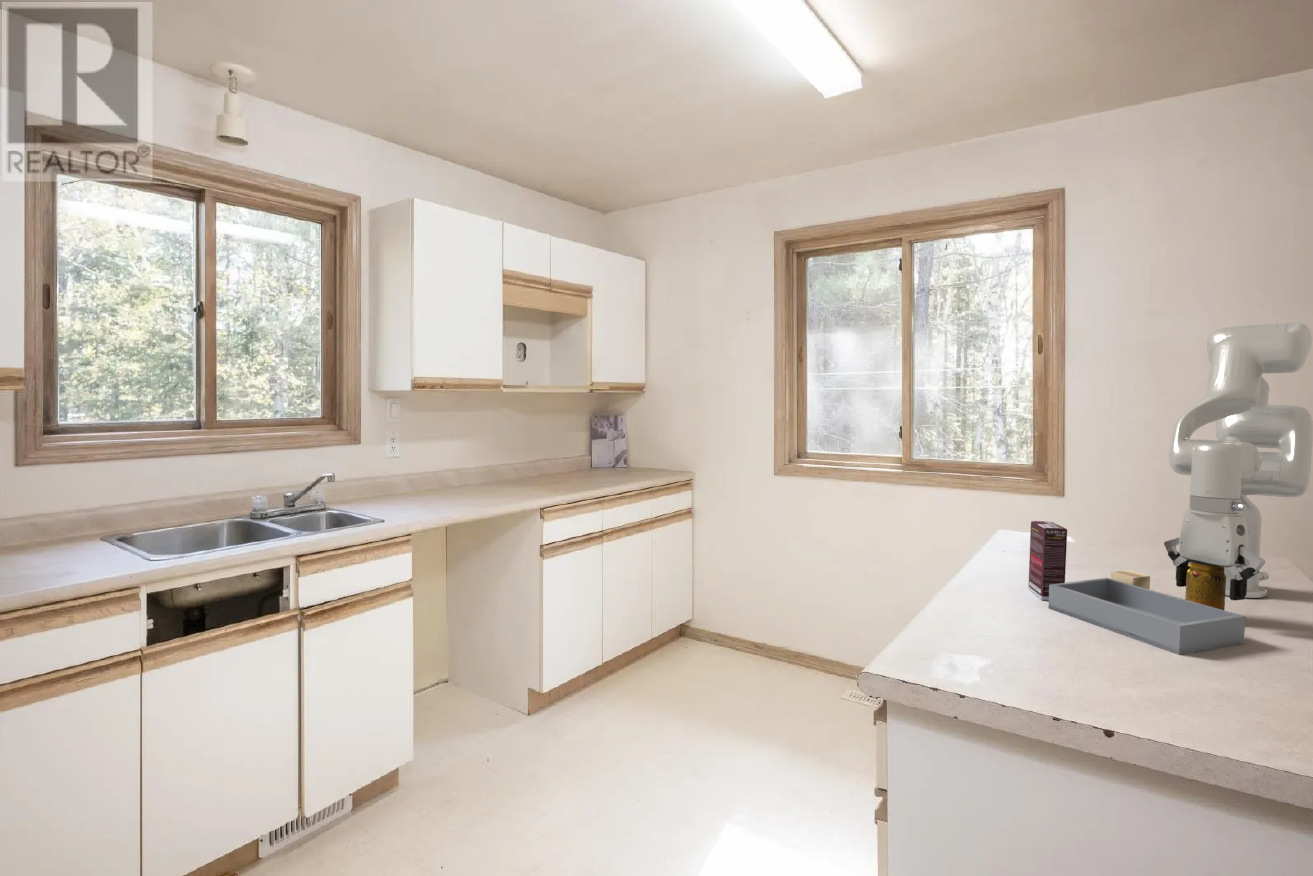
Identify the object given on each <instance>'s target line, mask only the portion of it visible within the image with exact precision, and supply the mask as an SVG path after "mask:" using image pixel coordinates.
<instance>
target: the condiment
mask: <svg viewBox="0 0 1313 876" xmlns="http://www.w3.org/2000/svg"><path fill="white" fill-rule="evenodd" d="M1188 566H1190V569H1189V570H1188V571H1187V577H1186V586H1185V595H1184V596H1185V600H1189V601H1192V602H1196V603H1199V604H1203V605H1207V606H1210V607H1214V608H1217V609H1221V610H1225V607H1226V602H1225V601H1226V595H1225V590H1226V575H1225V574H1224V570H1225V569H1224V567H1221V566H1216V565H1211V564H1207V563H1204V562H1201V561H1197V560H1190V564H1189V565H1188ZM1225 611H1226V610H1225Z"/></svg>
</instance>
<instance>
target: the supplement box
mask: <svg viewBox="0 0 1313 876" xmlns="http://www.w3.org/2000/svg"><path fill="white" fill-rule="evenodd" d="M1029 537H1030V539H1029V540H1030V542H1029V563H1028V564H1029V566H1028V567H1029V568H1028V569H1029V570H1028V590H1029V591H1030V592H1031V593H1032V594H1034V595H1035V596H1036V597H1037V598H1039V599H1040V600H1042V601H1048V602H1049V585H1050V584H1059V583H1066V568H1067V567H1066V566H1067V545H1068V529H1067V528H1066V527H1064V526H1061V525H1059V524H1058V523H1055V522H1054V521H1043V520H1042V521H1041V520H1039V521H1038V520H1033V521H1030V536H1029Z"/></svg>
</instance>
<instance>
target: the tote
mask: <svg viewBox="0 0 1313 876" xmlns="http://www.w3.org/2000/svg"><path fill="white" fill-rule="evenodd" d="M1048 609H1050V610H1052V611H1055V612H1058V613H1061V614H1064V615H1067V616H1070V617H1073V618H1075V619H1077V618H1078V620H1081V621H1082V622H1083V621H1084V622H1086V623H1089V624H1091V625H1094V626H1097V627H1100V628H1103V627H1104V628H1103V629H1106V628H1107V629H1106V630H1108V629H1109V631H1111V632H1114V633H1117V632H1118V633H1117V634H1120V635H1123V636H1125V637H1128V636H1129V638H1131V639H1134V640H1137V641H1140V642H1142V641H1143V643H1145V644H1147V645H1151V646H1152V647H1153V646H1154V647H1156V646H1157V647H1156V648H1159V649H1162V650H1165V651H1167V650H1169V651H1168V652H1170V653H1173V654H1176V655H1179V656H1180V655H1184V654H1185V655H1186V654H1191V653H1190V652H1192V653H1196V652H1195V651H1198V652H1202V651H1201V650H1204V651H1209V650H1215V649H1221V648H1227V646H1228V647H1233V646H1239V645H1244V644H1245V628H1246V627H1245V626H1246V616H1245V615H1242V614H1238V613H1234V612H1231V611H1228V610H1221V609H1217V608H1214V607H1210V606H1207V605H1203V604H1199V603H1196V602H1192V601H1189V600H1185V599H1184V598H1181V597H1178V596H1174V595H1170V594H1167V593H1163V592H1160V591H1156V590H1153V589H1150V590H1149V589H1146V588H1142V587H1138V586H1135V585H1131V584H1128V583H1124V582H1120V581H1117V580H1113V579H1111V577H1110V578H1109V577H1104V578H1103V577H1101V578H1095V579H1094V578H1093V579H1086V580H1076V581H1068V582H1065V583H1059V584H1050V585H1049V601H1048Z"/></svg>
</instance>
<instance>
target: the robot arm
mask: <svg viewBox="0 0 1313 876" xmlns="http://www.w3.org/2000/svg"><path fill="white" fill-rule="evenodd" d="M1312 336H1313V335H1312V331H1311V330H1310V328H1309V327H1308V325H1306V324H1304V323H1302V322H1301V323H1300V322H1292V323H1291V322H1287V323H1273V324H1272V323H1270V324H1269V323H1268V324H1253V325H1252V324H1249V325H1248V324H1247V325H1236V326H1235V325H1234V326H1230V327H1229V326H1228V327H1223V328H1219V329H1215V330H1214V331H1213V332H1211V333H1210V334H1209V335H1208V337H1207V340H1206V350H1207V356H1208V359H1209V363H1210V368H1209V374H1208V380H1207V381H1208V382H1207V386H1206V394H1205V396H1204V397H1203V398H1201V399H1200V400H1199V401H1197V402H1196V403H1194V404H1193V405H1192V406H1190V407H1189V408H1188V409H1186V410H1185V412H1184V413H1183V414H1182V415H1181V416H1180V417H1179V418H1178V420H1177V421H1176V423H1175V425H1174V428H1173V431H1172V436H1171V440H1170V441H1171V442H1170V447H1169V454H1168V461H1169V466H1170V469H1172V471H1174V472H1175V473H1177V474H1179V475H1182V476H1190V484H1189V485H1190V486H1189V487H1190V489H1189V490H1190V491H1189V504H1188V505H1189V506H1188V507H1189V508H1188V509H1186V510H1185V513H1184V516H1183V519H1182V522H1181V523H1182V524H1181V528H1180V533H1179V536H1178V537H1175V538H1173V539H1169V540H1167V541H1164V542H1163V545H1164V547H1165V550H1166V552H1167V556H1168V558H1170V559H1171V561H1172V564H1173V566H1175V581H1176V583H1175V584H1176V586H1177V587H1178V588H1181V587H1182V588H1183V587H1186V577H1187V571H1188V570H1189V569H1190V566H1189V565H1190V560H1197V561H1201V562H1204V563H1207V564H1211V565H1216V566H1221V567H1224V569H1225V570H1224V574H1225V575H1226V590H1225V597H1226V596H1228V597H1229V599H1230V601H1245V599H1261V598H1264V597H1266V596H1267V595H1268V590H1267V589H1266V588H1265V587H1263V586H1261V585H1260V583H1259V582H1260V581H1261V582H1262V581H1267V580H1268V579H1269V577H1270V575H1269V573H1268V572H1267V571H1264V570H1263V571H1260V570H1261V569H1262V568H1263V566H1264V565H1265V564H1266V561H1265V559H1264V558H1262V557H1261V555H1260V554H1261V552H1260V551H1261V535H1262V514H1261V512H1260V509H1259V508H1258V507H1257V506H1256V505H1255V504H1254V503H1253V502H1252V501H1251V500H1250V499H1249V498H1248V496H1265V497H1278V498H1298V497H1301V496H1303V495H1305V494H1306V492H1307V491H1308V489H1309V486H1310V481H1311V467H1312V456H1313V455H1312V454H1313V417H1312V415H1311V413H1310V411H1309V410H1308V409H1306V408H1305V407H1303V406H1301V405H1300V406H1299V405H1291V404H1287V405H1285V404H1282V405H1281V404H1269V394H1270V385H1269V382H1267V380H1266V379H1265V378H1264V377H1263V376H1262V375H1263V374H1291V373H1297V372H1298V371H1300V370H1301V369H1302V368H1303V367H1304V365H1305V363H1306V361H1307V359H1308V356H1309V353H1310V351H1311V348H1312V341H1313V339H1312V338H1313V337H1312ZM1213 422H1216V424H1215V435H1216V438H1217V440H1216V439H1191V437H1192V435H1193V434H1194V433H1195V432H1196V431H1198V429H1200V428H1202V427H1203V426H1206V425H1208V424H1211V423H1213ZM1259 448H1262V449H1278V450H1280V451H1281V452H1271V451H1270V452H1269V451H1260V450H1259ZM1177 546H1178V549H1177Z"/></svg>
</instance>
